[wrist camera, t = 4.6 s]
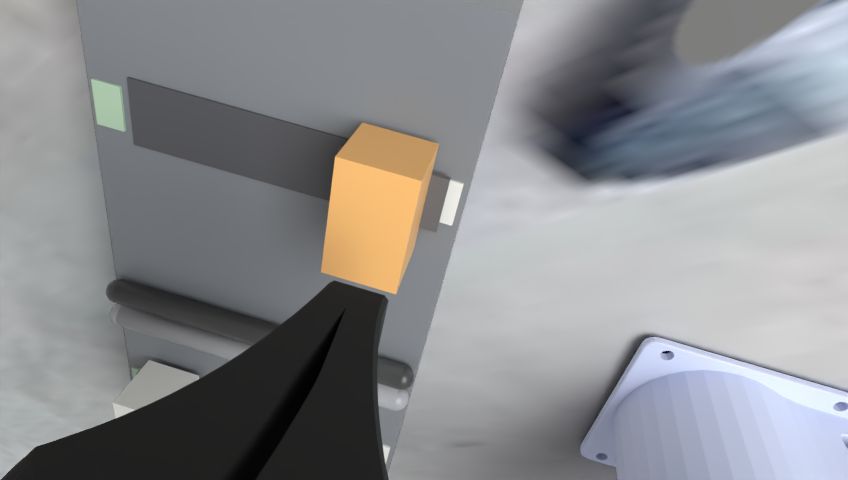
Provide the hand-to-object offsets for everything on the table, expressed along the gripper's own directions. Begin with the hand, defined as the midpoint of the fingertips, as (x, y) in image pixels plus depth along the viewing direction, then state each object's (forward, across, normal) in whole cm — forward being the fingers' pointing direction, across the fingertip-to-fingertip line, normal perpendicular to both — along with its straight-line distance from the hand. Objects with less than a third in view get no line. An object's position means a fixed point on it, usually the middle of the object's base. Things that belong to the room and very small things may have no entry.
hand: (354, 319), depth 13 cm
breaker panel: (+9, +5, +6) cm, 12 cm away
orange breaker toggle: (+6, +1, 0) cm, 6 cm away
